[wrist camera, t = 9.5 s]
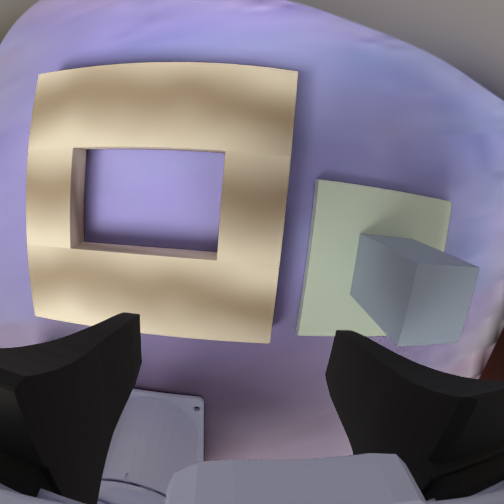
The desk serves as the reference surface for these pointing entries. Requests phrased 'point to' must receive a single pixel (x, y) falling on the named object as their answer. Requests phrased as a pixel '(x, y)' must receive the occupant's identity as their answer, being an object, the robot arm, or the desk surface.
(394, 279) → the slate block
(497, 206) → the desk surface
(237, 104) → the pocket board
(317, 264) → the tile
